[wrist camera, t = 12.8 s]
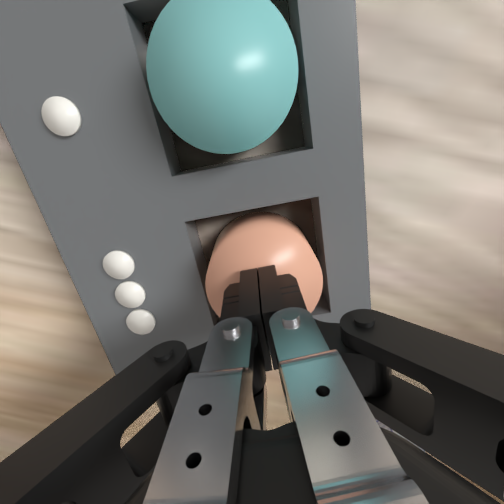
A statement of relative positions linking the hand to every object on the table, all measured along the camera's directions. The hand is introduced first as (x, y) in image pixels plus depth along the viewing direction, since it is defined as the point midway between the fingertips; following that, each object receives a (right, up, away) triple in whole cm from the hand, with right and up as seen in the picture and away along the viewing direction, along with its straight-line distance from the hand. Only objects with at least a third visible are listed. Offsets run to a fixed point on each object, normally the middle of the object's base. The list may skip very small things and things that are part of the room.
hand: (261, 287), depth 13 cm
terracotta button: (0, +1, +3) cm, 3 cm away
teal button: (-1, +8, 0) cm, 9 cm away
